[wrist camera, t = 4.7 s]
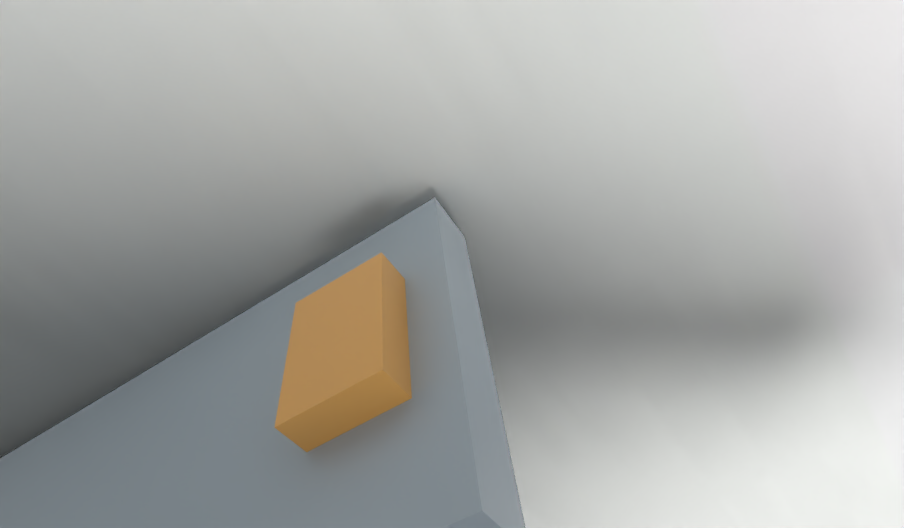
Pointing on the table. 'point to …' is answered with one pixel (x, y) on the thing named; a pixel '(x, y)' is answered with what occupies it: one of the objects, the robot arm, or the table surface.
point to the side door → (299, 411)
